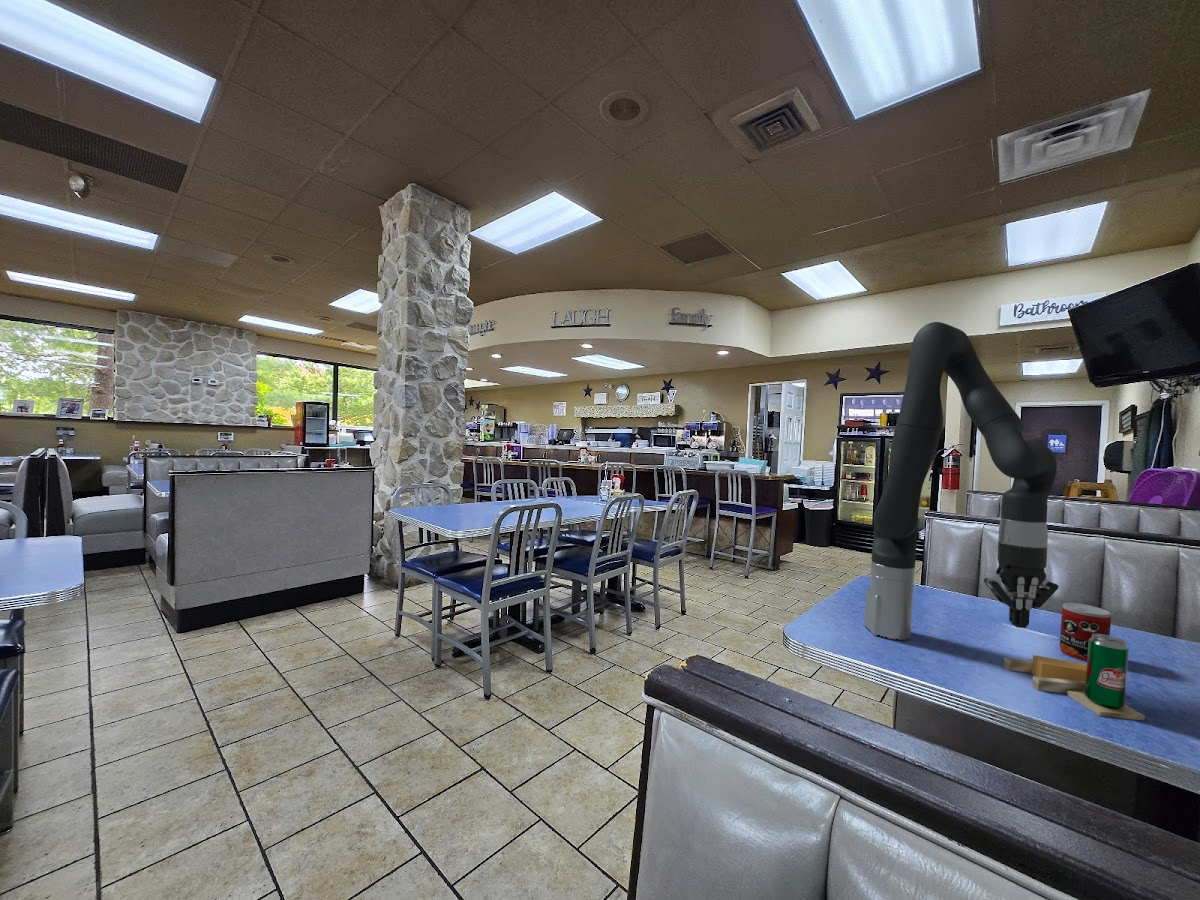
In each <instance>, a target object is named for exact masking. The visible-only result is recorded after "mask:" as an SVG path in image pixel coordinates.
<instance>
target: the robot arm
mask: <svg viewBox="0 0 1200 900" xmlns="http://www.w3.org/2000/svg"><path fill="white" fill-rule="evenodd" d="M909 352H910V353H909V361H908V370H907V378H906V383H905V387H904V392H903V395H902V400H901V404H900V409H899V412H898V417H897V419H896V424H895V426H894V431H893V435H892V440H891V444H890V445H891V446H890V452H889V460H888V469H887V470H888V471H887V477H886V481H885V485H884V487H883V491H882V494H881V496H880V499H879V501H878V504H877V507H876V508H875V510H874V513H873V523H874V524H873V539H872V549H871V565H870V566H871V567H870V579H869V589H868V588H866V590H865V605H864V623H863V625H865V626H866V627H867V628H868V629H869V630H870V631H871V632H872V633H873V634H875V635H874V636H877V635H880V636H879V637H882V636H883V638H885V637H887V638H886V639H891V640H896V639H898V641H905V640H910V639H911V635H912V618H913V603H914V602H913V601H914V590H915V589H914V588H915V585H914V584H915V575H916V574H915V571H916V561H917V559H916V558H917V543H918V542H917V540H918V539H917V538H918V526H919V525H918V523H919V510H920V501H921V495H922V492H923V487H924V483H925V481H926V478H927V475H928V473H929V470H930V468H931V466H932V463H933V460H934V457H935V455H936V452H937V448H938V446H939V441H940V438H941V434H942V430H943V425H944V414H943V413H944V412H943V411H944V410H943V404H942V398H941V397H942V396H941V384H942V383H941V382H942V377H943V374H944V373H945V374H946V375H947V376H948V377H949V378H950V380H952V382H953V383H954V385H955V386H956V388H957V389H958V393H959V394H960V395H959V396H960V398H961V402H962V404H963V407H964V409H965V412H966V414H967V415H968V417H969V419H971V421H972V423H973V424H974V426H976V429H977V430H978V431H979V432H980V434H981V435H982V437H983V438H984V441H985V444H986V445H985V446H986V447H987V451H988V454H989V455H990V457H991V458H990V459H991V461H992V462H993V465H994V466H995V467H996V468H997V469H998V470H999V472H1000V473H1002V474H1003V475H1005V476H1007V477H1009V478H1012V479H1013V482H1012V486H1011V487H1010V488H1009V489H1008V490H1006V491H1005V492H1004V493H1003V494H1002V496H1001V505H1000V506H1001V507H1000V509H1001V510H1000V521H999V526H998V540H997V541H998V542H997V562H998V567H997V568H996V570H995V575H993V576H991V577H990V578H989V577H985V578H984V579H983V582H984V584H985V585H986V587H987V588H988V589H989V591H991V593H992V595H993V596H994V597H995V598H996V599H997V601H998V602H999V603H1001V604H1004V605H1007V606H1008V607H1009V608H1008V609H1009V610H1008V612H1009V613H1008V620H1009V623H1011V626H1014V627H1016V628H1019V629H1020V628H1021V629H1027V628H1028V627H1027V626H1029V624H1030V613H1031V610H1032V609H1033V608H1041V607H1042V606H1043V605H1044V604H1046V602H1047V601H1048V600H1049V599H1050V598H1051V597H1052V596H1053V595H1054V593H1056V591H1057V590H1058V589H1059V588H1060V586H1059V584H1057V583H1054V582H1052V581H1050V579H1048V578H1047V573H1046V572H1045V569H1046V567H1047V560H1048V539H1049V531H1048V526H1047V525H1048V523H1047V521H1048V500H1049V497H1050V494H1051V492H1052V489H1053V487H1054V486H1053V485H1054V482H1055V479H1056V477H1057V471H1058V463H1057V458H1056V455H1055V453H1054V451H1052V449H1050V448H1049V447H1047V446H1045V445H1043V444H1040V443H1039V444H1038V443H1028V442H1027V441H1026V440H1025V438H1024V436H1023V435H1022V430H1023V429H1024V423H1023V420H1022V419H1021V418H1020V416H1019V415H1018V414H1017V412H1016V411H1015V409H1014V408H1013V407H1012V406H1011V405H1010V403H1009V402H1008V400H1007V399H1006V398H1005V397H1004V395H1003V394H1002V392H1001V391H1000V390H999V388H997V386H996V385H995V383H994V382H993V380H992V379H991V378H990V377H989V375H988V373H987V372H986V370H985V368H984V366H983V364H982V363H981V360H980V359H979V357H978V355H977V353H976V351H975V348H974V346H973V344H972V342H971V340H970V337H969V336H968V335H967V334H966V332H964V330H962V329H959V328H958V327H955V326H953V325H950V324H948V323H945V322H940V321H933V322H929V323H927V324H925V325H924V326H922V327H921V328H920V329H919V330H918V331H917V332H916V334H915V336H914V337H913V339H912V342H911V347H910V351H909ZM1003 586H1004V589H1003ZM865 626H864V627H865ZM866 627H865V628H866ZM867 628H866V629H867ZM868 629H867V630H868ZM869 630H868V631H869ZM870 631H869V632H870ZM871 632H870V633H871ZM872 633H871V634H872ZM873 634H872V635H873Z"/></svg>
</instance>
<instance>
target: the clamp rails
mask: <svg viewBox="0 0 1200 900" xmlns="http://www.w3.org/2000/svg"><path fill="white" fill-rule="evenodd" d="M1032 662H1033V659H1022V658H1013V657H1012V658H1009V657H1004V661H1003V668H1005V669H1006V670H1007V671H1011V672H1021V673H1022V672H1023V673H1032ZM1085 682H1086V681H1077V680H1066V679H1056V678H1045V677H1035V676H1034V675H1033V676H1032V685H1031V686H1032V687H1033V689H1036V690H1037V691H1041V692H1042V691H1043V692H1053V693H1062V694H1067V691H1075V692H1085Z"/></svg>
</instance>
